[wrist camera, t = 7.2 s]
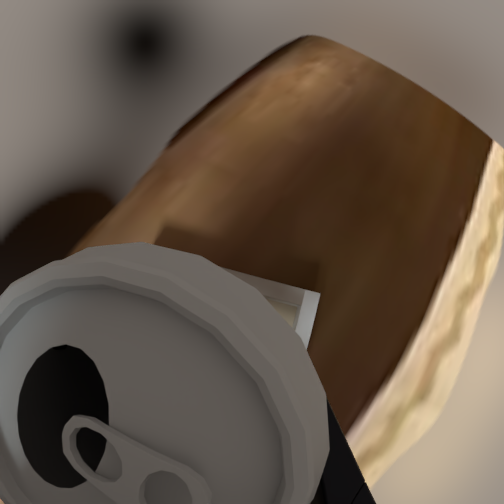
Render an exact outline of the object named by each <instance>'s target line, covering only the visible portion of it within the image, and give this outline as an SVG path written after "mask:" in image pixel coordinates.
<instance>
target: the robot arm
mask: <svg viewBox="0 0 504 504" xmlns="http://www.w3.org/2000/svg"><path fill="white" fill-rule="evenodd" d="M66 347H67V344H64V345H60V346H56V347H52V348H53V349H55V350H65V349H66ZM326 401H327V414H328V430H329V447H330V450H329V454H328V457H327V460H326V463H325V467H324V470H323V473H322V476H321V479H320V482H319V485H318V488H317V490H316V493H315V496H314V499H313V500H312V501H311V503H310V504H376V503H375V501H374V498H373V496H372V494H371V492H370V490H369V488H368V486H367V484H366V482H365V479H364V477H363V475H362V473H361V471H360V469H359V466H358V464H357V462H356V460H355V458H354V456H353V453H352V451H351V449H350V447H349V445H348V443H347V440H346V438H345V436H344V434H343V432H342V430H341V427H340V425H339V423H338V421H337V419H336V417H335V414H334V412H333V410H332V408H331V406H330V404H329V401H328V399H327V397H326Z"/></svg>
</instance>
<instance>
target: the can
mask: <svg viewBox="0 0 504 504" xmlns="http://www.w3.org/2000/svg"><path fill="white" fill-rule="evenodd" d="M64 344H67V347H66V349H65V350H55V349H53V348H52V347H56V346H60V345H64ZM329 450H330V447H329V430H328V414H327V401H326V393H325V391H324V388H323V386H322V384H321V382H320V379H319V377H318V375H317V373H316V370H315V368H314V366H313V364H312V361H311V359H310V357H309V355H308V352H307V350H306V348H305V346H304V343H303V341H302V339H301V337H300V336H299V335H298V334H297V333H296V332H295V331H294V329H293V328H292V327H291V326H290V325H289V324H288V323H287V322H286V321H285V320H284V318H283V317H282V316H281V315H280V314H279V313H278V312H277V311H276V310H275V309H274V307H273V306H272V305H271V304H270V303H269V302H268V301H267V300H266V299H265V297H264V296H263V295H262V294H261V293H260V292H259V291H258V290H257V289H256V288H254V287H253V286H251V285H249V284H248V283H246V282H244V281H242V280H241V279H239V278H237V277H236V276H234V275H232V274H231V273H229V272H227V271H226V270H224V269H222V268H221V267H219V266H217V265H216V264H214V263H212V262H211V261H209V260H207V259H206V258H204V257H202V256H200V255H196V254H191V253H187V252H183V251H178V250H174V249H170V248H166V247H161V246H157V245H153V244H149V243H144V242H137V243H127V244H117V245H107V246H97V247H88V248H86V249H84V250H82V251H80V252H78V253H76V254H73V255H71V256H69V257H67V258H65V259H63V260H60V261H53V262H51V263H49V264H47V265H45V266H43V267H41V268H40V269H38V270H36V271H34V272H32V273H30V274H28V275H26V276H24V277H22V278H21V279H19V280H17V281H15V282H13V283H12V284H11V285H10V286H9V287H8V288H7V289H6V291H5V292H4V293H3V294H2V295H1V296H0V498H1V500H2V501H3V502H4V503H5V504H310V503H311V501H312V500H313V499H314V496H315V493H316V490H317V488H318V485H319V482H320V479H321V476H322V473H323V470H324V467H325V463H326V460H327V457H328V454H329Z"/></svg>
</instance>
